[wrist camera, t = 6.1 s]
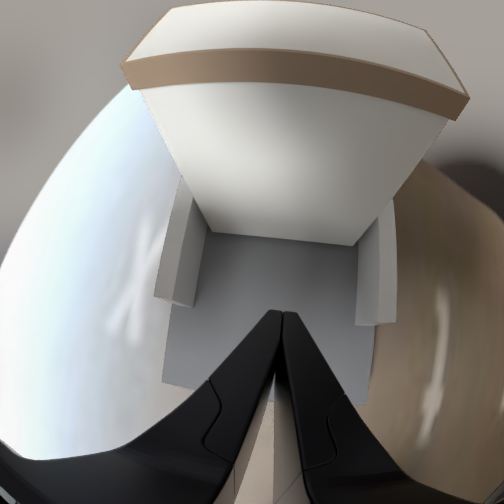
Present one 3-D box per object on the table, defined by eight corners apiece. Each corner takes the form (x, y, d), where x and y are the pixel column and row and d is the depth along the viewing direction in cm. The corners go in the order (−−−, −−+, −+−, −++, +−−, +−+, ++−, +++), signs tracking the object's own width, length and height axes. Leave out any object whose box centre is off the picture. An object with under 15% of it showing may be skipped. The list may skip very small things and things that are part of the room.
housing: (356, 399, 12) (389, 421, 8) (171, 378, 13) (134, 392, 9) (364, 170, 16) (386, 125, 12) (212, 155, 17) (197, 107, 13)
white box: (354, 248, 13) (470, 98, 3) (209, 233, 14) (119, 65, 4) (353, 191, 14) (425, 30, 4) (220, 179, 15) (169, 7, 5)
